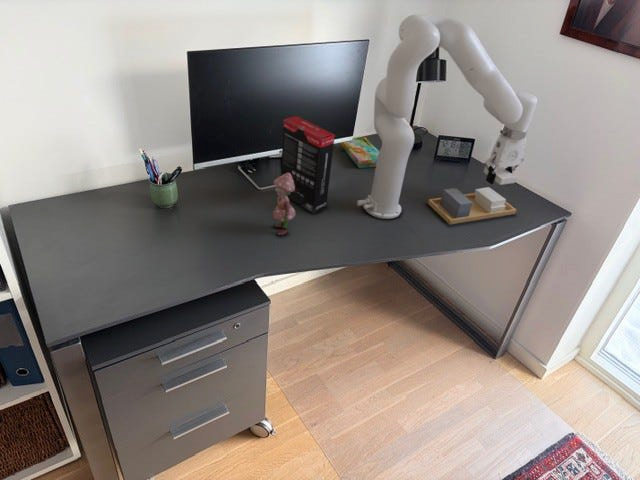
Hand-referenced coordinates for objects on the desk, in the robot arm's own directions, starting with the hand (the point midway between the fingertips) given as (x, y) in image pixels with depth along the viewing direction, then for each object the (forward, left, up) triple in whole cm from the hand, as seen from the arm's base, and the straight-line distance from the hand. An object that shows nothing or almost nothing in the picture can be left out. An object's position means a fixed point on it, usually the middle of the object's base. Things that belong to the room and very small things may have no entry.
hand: (497, 180), depth 170 cm
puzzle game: (-29, +46, -11) cm, 55 cm away
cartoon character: (-76, +4, -11) cm, 77 cm away
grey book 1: (-15, 0, -7) cm, 17 cm away
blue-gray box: (-15, 0, -10) cm, 18 cm away
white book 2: (0, +1, -8) cm, 8 cm away
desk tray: (-8, 0, -11) cm, 13 cm away
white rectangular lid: (0, 0, +1) cm, 1 cm away
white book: (0, 0, -10) cm, 10 cm away
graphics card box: (-64, +19, -11) cm, 67 cm away
